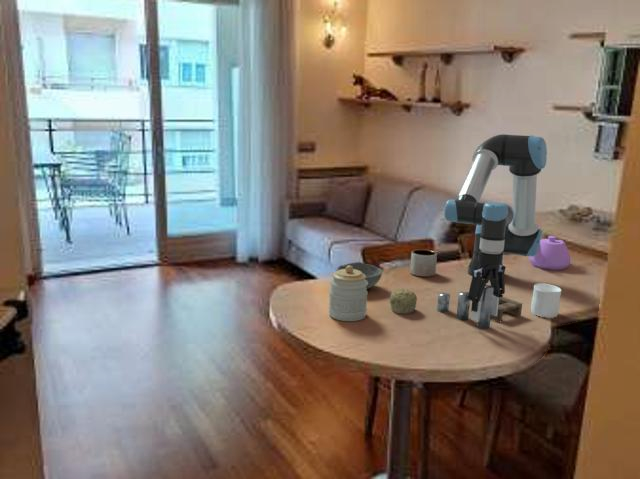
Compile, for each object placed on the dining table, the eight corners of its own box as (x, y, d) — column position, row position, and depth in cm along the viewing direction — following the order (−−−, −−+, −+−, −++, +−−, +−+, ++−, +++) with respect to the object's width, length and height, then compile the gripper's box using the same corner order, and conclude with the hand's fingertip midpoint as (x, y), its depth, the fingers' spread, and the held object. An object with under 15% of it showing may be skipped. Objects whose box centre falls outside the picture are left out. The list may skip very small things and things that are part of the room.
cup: (543, 320, 203) (547, 293, 201) (523, 310, 212) (526, 284, 210) (564, 316, 207) (568, 290, 205) (543, 307, 216) (546, 282, 214)
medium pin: (461, 315, 205) (464, 290, 203) (470, 319, 202) (473, 294, 200) (453, 317, 203) (456, 292, 201) (462, 321, 200) (465, 296, 198)
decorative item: (392, 315, 214) (379, 296, 209) (411, 297, 216) (399, 278, 211) (406, 325, 206) (392, 305, 201) (426, 306, 207) (413, 286, 203)
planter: (435, 278, 247) (437, 256, 244) (409, 276, 249) (410, 254, 246) (435, 271, 257) (437, 250, 255) (410, 269, 259) (411, 248, 257)
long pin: (482, 323, 198) (486, 284, 195) (492, 327, 195) (496, 287, 192) (474, 326, 196) (478, 286, 193) (484, 330, 193) (488, 289, 189)
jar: (356, 325, 194) (358, 273, 190) (321, 317, 200) (323, 266, 196) (372, 313, 205) (375, 264, 201) (339, 305, 211) (341, 258, 207)
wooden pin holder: (493, 305, 216) (494, 293, 215) (520, 315, 207) (522, 303, 206) (471, 311, 209) (472, 299, 208) (498, 322, 200) (500, 309, 199)
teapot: (545, 257, 285) (548, 230, 282) (579, 266, 272) (583, 237, 269) (514, 265, 270) (517, 236, 267) (549, 275, 257) (553, 244, 254)
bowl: (348, 297, 220) (349, 277, 218) (328, 283, 236) (329, 264, 234) (390, 292, 227) (391, 272, 225) (368, 279, 243) (369, 260, 241)
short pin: (442, 307, 212) (443, 291, 211) (450, 311, 209) (452, 295, 208) (434, 309, 210) (436, 293, 209) (443, 313, 207) (444, 297, 205)
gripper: (502, 244, 198) (495, 308, 204) (459, 252, 186) (453, 320, 192) (521, 249, 192) (513, 315, 198) (478, 258, 180) (471, 327, 186)
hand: (484, 317), depth 195 cm, fingers open, 8 cm apart
